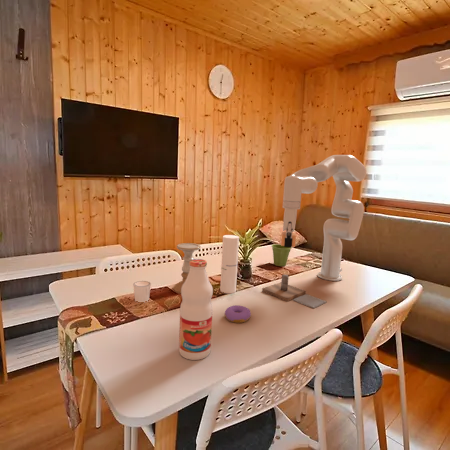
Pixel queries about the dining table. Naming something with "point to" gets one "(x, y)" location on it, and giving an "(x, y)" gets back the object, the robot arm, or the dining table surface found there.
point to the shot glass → (142, 291)
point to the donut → (237, 314)
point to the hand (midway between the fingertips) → (288, 244)
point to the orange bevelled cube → (285, 237)
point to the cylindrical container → (229, 263)
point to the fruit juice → (196, 313)
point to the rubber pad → (309, 301)
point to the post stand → (284, 290)
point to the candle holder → (185, 262)
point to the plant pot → (280, 254)
